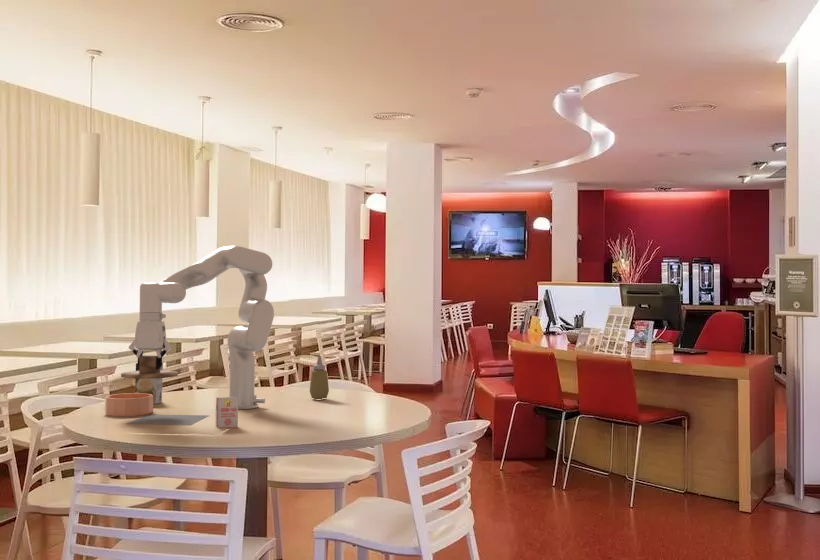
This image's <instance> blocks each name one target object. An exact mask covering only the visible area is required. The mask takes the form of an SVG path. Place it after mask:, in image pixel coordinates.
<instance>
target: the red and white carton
mask: <svg viewBox="0 0 820 560" xmlns="http://www.w3.org/2000/svg"><path fill="white" fill-rule="evenodd" d="M215 399H216V402H215V427H216V428H226V427H227V428H226V429H239V425H238V424H239V420H238V419H239V409H238V397H229V396H227V397H226V396H225V397H224V396H222V397H216V398H215Z"/></svg>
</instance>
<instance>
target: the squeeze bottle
mask: <svg viewBox="0 0 820 560" xmlns="http://www.w3.org/2000/svg"><path fill="white" fill-rule="evenodd" d="M310 373H311V376H310V384H309V393H310V396H311V399H312V398H314V399H322V398H326V399H327V398H328V395H329V391H330V389H329V377H328V376H329V375H328V371H327V370H326V365H325V364H323V360H322V356H317V360H316V364H314V365H313V370H312V371H311V372H310Z"/></svg>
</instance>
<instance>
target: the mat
mask: <svg viewBox="0 0 820 560" xmlns="http://www.w3.org/2000/svg"><path fill="white" fill-rule="evenodd" d="M208 417H210V415H208V414H207V415H206V414H204V415H202V414H201V415H198V414H195V415H194V414H152V413H149V414H145V415H144V416H141V417H139V418H137V419H134V420H131V421H129V422H126V425H154V426H155V425H158V426H160V425H162V426H164V425H165V426H167V425H168V426H192V425H194V424H196V423H198V422H200V421H202V420H204V419H206V418H208Z"/></svg>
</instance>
